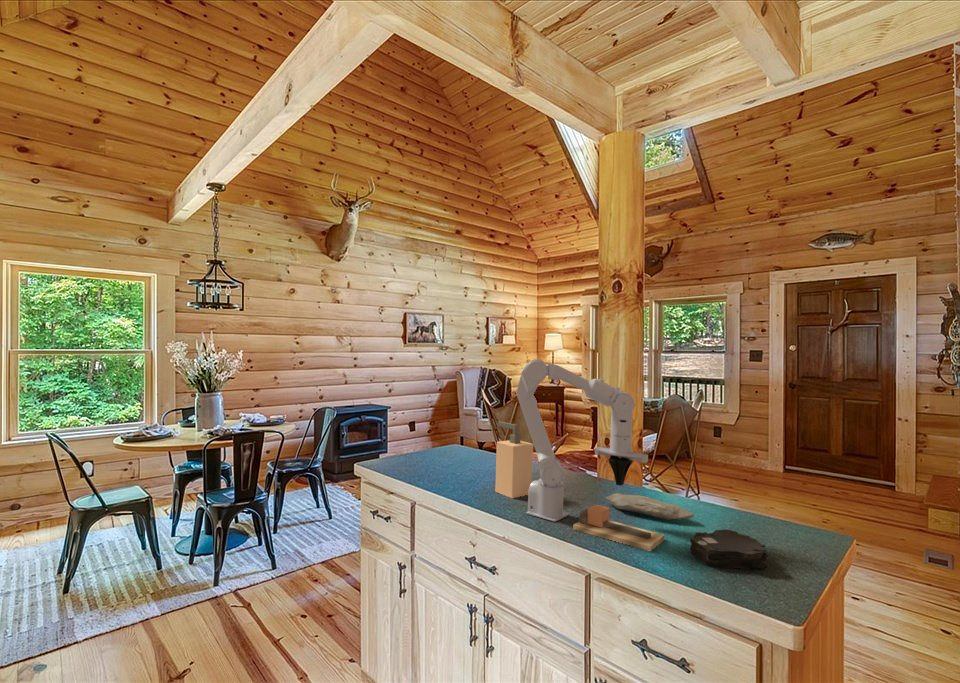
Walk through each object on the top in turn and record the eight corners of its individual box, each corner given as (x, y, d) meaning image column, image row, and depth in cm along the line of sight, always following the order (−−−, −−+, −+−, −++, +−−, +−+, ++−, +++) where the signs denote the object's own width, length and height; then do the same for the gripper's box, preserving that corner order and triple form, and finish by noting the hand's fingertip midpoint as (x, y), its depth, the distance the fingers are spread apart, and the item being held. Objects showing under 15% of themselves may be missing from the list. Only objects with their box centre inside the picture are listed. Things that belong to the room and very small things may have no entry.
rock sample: (707, 540, 120) (707, 520, 120) (778, 560, 109) (779, 538, 110) (679, 559, 108) (680, 537, 108) (757, 585, 97) (758, 560, 97)
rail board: (573, 529, 124) (573, 513, 124) (590, 519, 132) (591, 505, 132) (650, 551, 111) (650, 534, 111) (664, 539, 119) (664, 523, 119)
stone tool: (615, 485, 151) (699, 502, 135) (614, 501, 151) (699, 520, 135) (599, 492, 142) (687, 511, 126) (598, 509, 142) (687, 530, 126)
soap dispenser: (532, 494, 154) (534, 425, 154) (512, 498, 149) (514, 427, 149) (506, 484, 164) (508, 420, 165) (487, 488, 159) (489, 422, 160)
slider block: (587, 523, 124) (587, 508, 124) (595, 519, 128) (595, 504, 128) (601, 527, 122) (601, 512, 122) (609, 522, 125) (609, 507, 125)
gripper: (652, 437, 131) (651, 487, 130) (602, 430, 140) (601, 476, 140) (643, 440, 125) (641, 492, 125) (592, 432, 134) (590, 481, 134)
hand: (619, 484), depth 132 cm, fingers closed
